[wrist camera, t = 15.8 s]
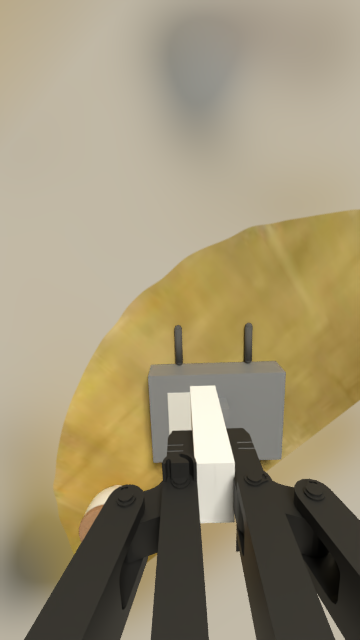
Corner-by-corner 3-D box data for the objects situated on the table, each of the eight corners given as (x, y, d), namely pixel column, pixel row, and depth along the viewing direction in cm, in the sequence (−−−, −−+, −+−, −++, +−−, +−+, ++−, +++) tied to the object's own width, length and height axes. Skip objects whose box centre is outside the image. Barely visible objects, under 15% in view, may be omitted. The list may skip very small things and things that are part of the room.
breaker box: (275, 361, 51) (293, 381, 43) (272, 441, 55) (288, 474, 46) (151, 364, 51) (145, 386, 43) (155, 444, 55) (151, 477, 46)
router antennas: (251, 322, 49) (253, 323, 48) (250, 361, 51) (252, 364, 50) (174, 324, 50) (174, 326, 48) (176, 364, 51) (175, 366, 50)
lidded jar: (156, 505, 58) (151, 552, 49) (112, 528, 59) (99, 578, 50) (126, 466, 56) (115, 507, 47) (81, 490, 57) (62, 535, 48)
